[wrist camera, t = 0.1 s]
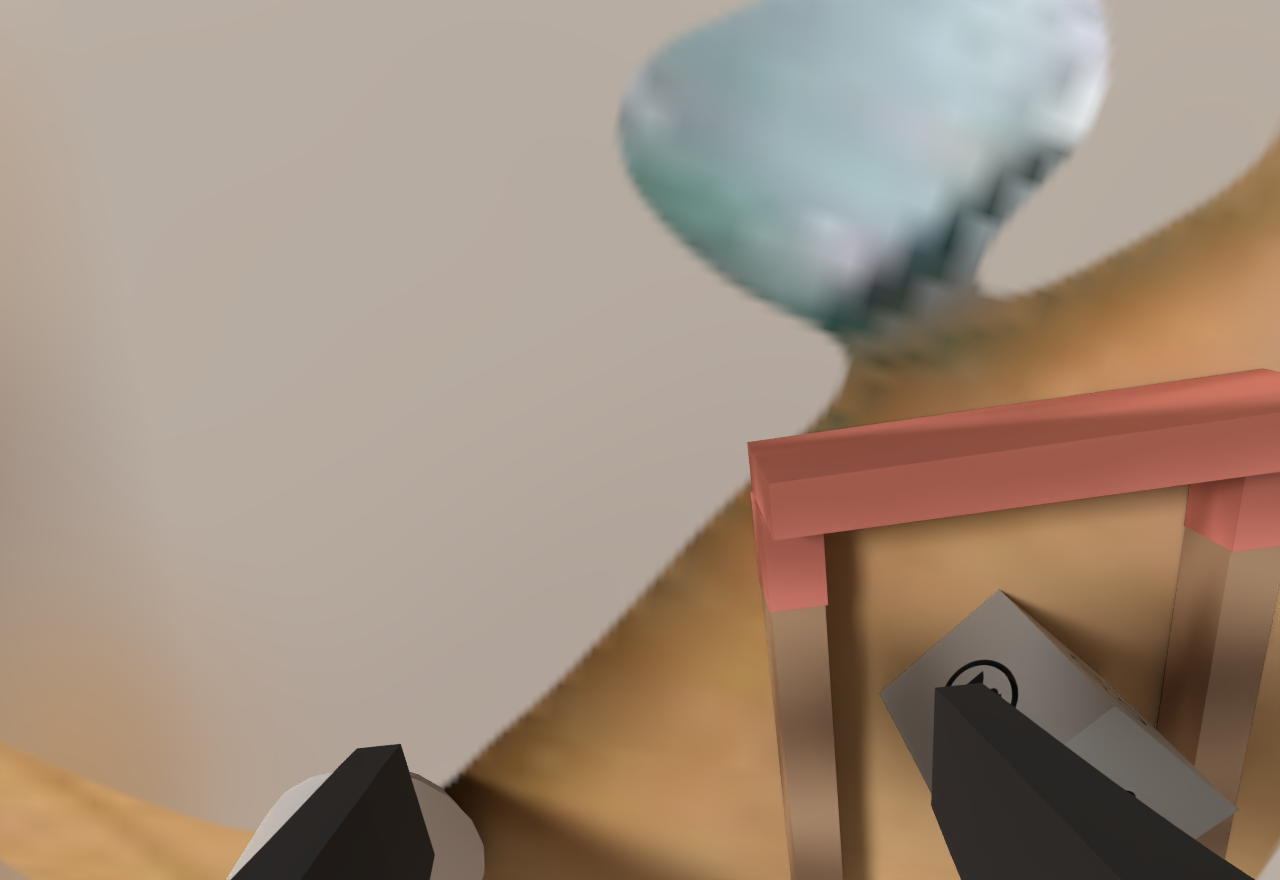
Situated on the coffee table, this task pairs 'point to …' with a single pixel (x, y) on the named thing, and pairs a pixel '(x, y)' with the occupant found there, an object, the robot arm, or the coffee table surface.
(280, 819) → the can
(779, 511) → the guide channel
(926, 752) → the dice cube
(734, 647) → the coffee table surface
